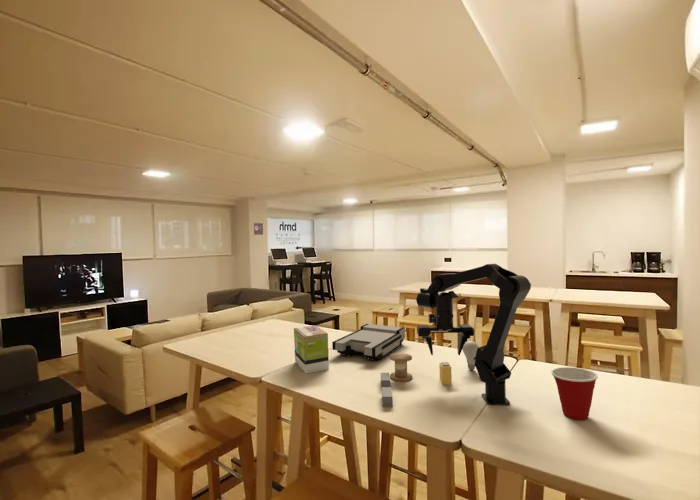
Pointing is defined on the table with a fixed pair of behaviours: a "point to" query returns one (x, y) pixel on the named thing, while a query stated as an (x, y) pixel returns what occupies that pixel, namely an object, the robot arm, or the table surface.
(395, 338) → the game console
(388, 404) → the grey square bar
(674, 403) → the table surface
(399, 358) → the bobbin
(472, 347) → the lightbulb
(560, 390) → the plastic cup
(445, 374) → the tab block
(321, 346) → the tea box
